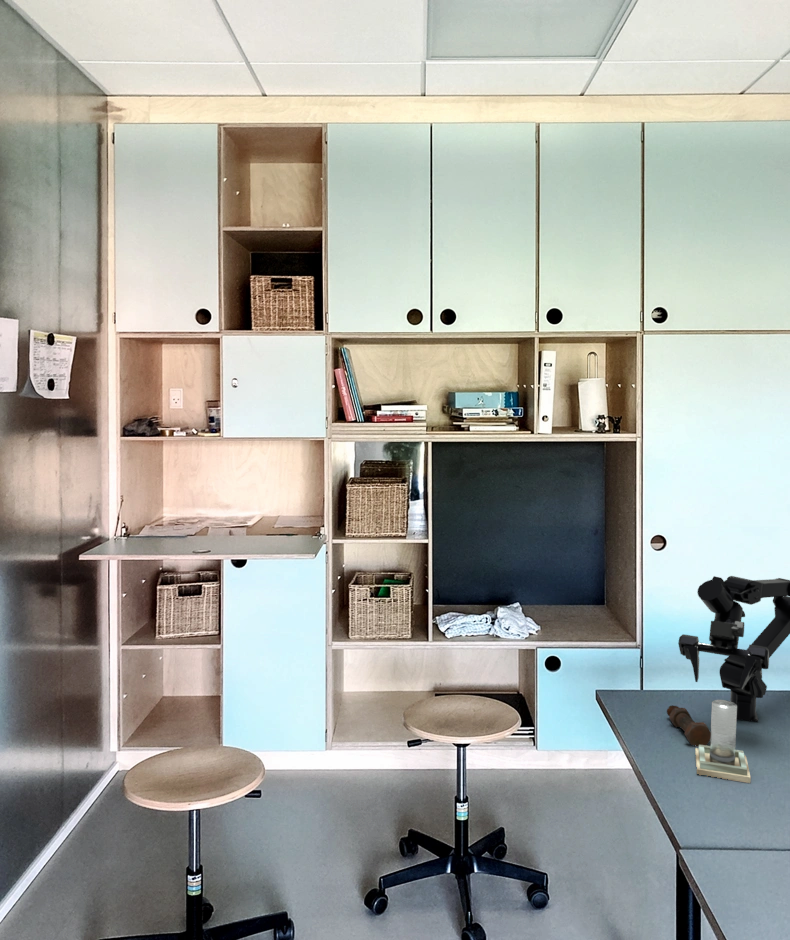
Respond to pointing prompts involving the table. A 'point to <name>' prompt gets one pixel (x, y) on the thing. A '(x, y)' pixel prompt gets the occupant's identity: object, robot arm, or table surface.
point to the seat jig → (722, 766)
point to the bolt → (689, 726)
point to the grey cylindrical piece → (723, 732)
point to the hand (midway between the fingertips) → (718, 685)
